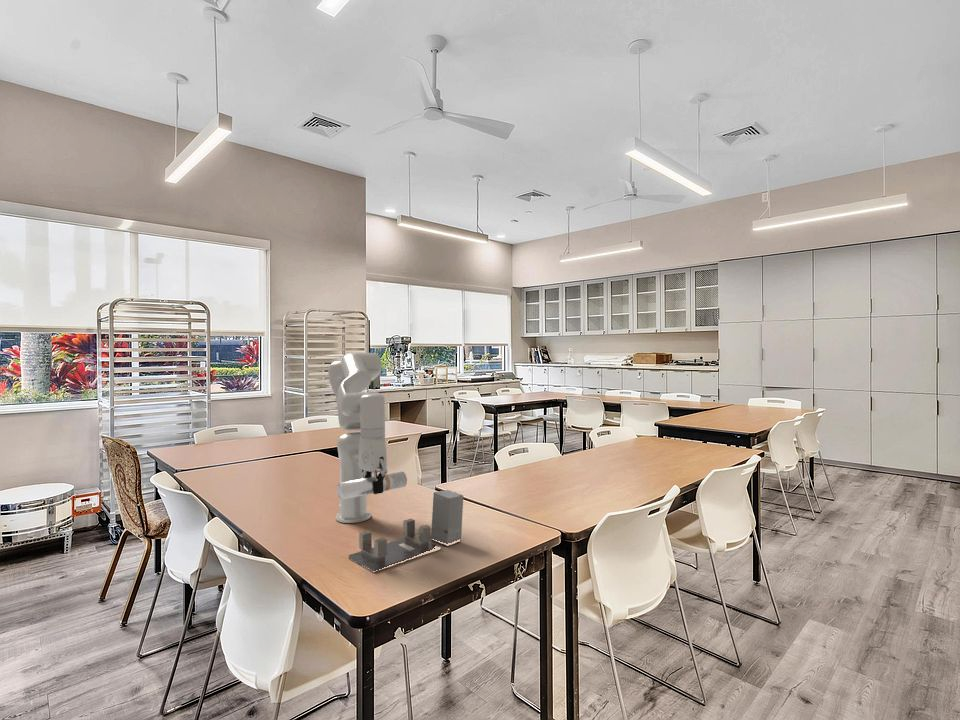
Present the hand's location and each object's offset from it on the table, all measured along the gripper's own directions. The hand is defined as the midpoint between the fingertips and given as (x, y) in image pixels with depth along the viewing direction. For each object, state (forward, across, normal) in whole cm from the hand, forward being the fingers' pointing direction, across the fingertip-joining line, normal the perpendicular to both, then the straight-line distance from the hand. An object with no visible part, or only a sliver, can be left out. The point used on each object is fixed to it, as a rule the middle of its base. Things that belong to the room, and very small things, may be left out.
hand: (373, 491), depth 159 cm
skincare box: (+18, +11, +21) cm, 30 cm away
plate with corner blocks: (+18, +8, +3) cm, 20 cm away
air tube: (-2, 0, 0) cm, 2 cm away
